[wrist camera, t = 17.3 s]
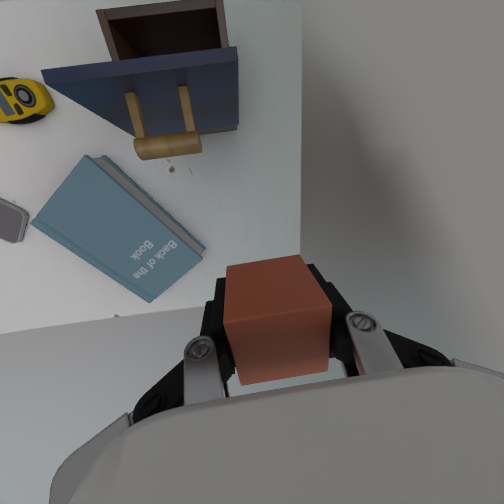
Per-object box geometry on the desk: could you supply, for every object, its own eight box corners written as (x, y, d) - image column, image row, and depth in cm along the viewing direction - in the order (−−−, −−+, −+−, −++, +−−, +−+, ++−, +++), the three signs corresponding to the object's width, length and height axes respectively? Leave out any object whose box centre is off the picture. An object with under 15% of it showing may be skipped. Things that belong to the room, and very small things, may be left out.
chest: (135, 52, 27) (95, 9, 19) (225, 41, 27) (222, -5, 19) (160, 140, 32) (136, 134, 24) (237, 129, 32) (238, 121, 24)
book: (205, 248, 41) (202, 259, 36) (155, 290, 44) (146, 305, 40) (105, 155, 32) (84, 155, 27) (53, 218, 36) (27, 226, 31)
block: (226, 265, 11) (222, 323, 8) (299, 253, 12) (333, 304, 8) (238, 319, 13) (241, 386, 10) (301, 308, 14) (328, 371, 10)
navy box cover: (39, 69, 12) (72, 161, 14) (236, 45, 13) (248, 138, 14) (133, 130, 23) (146, 177, 25) (237, 116, 24) (244, 164, 25)
